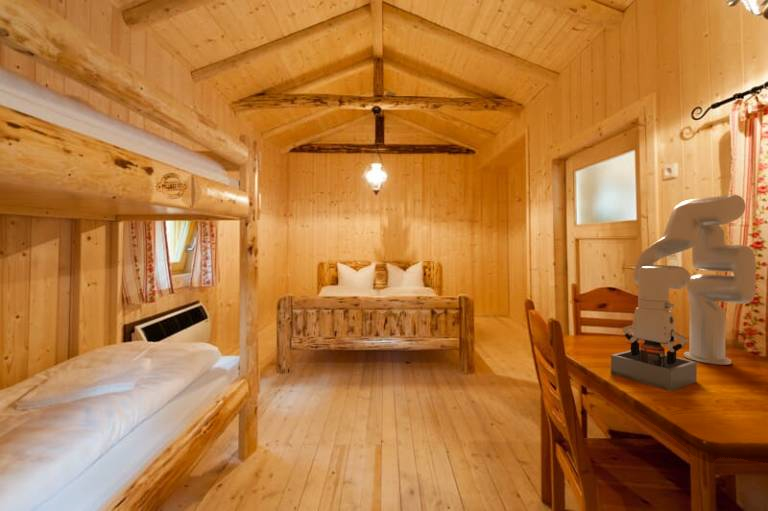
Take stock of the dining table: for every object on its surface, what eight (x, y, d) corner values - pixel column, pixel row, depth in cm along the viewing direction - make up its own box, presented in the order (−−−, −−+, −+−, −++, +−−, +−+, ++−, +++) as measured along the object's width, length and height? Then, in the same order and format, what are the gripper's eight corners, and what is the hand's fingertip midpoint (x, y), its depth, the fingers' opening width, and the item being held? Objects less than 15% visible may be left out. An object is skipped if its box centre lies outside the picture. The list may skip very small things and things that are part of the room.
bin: (637, 365, 115) (637, 348, 115) (696, 381, 101) (696, 362, 101) (610, 373, 108) (611, 354, 108) (670, 391, 94) (671, 370, 94)
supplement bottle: (669, 378, 101) (669, 341, 101) (647, 376, 102) (647, 340, 102) (657, 371, 107) (657, 336, 107) (636, 369, 108) (636, 335, 108)
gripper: (693, 308, 99) (693, 365, 99) (629, 301, 114) (628, 350, 114) (681, 310, 95) (681, 369, 95) (616, 302, 111) (616, 353, 111)
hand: (652, 359), depth 105 cm, fingers open, 9 cm apart
